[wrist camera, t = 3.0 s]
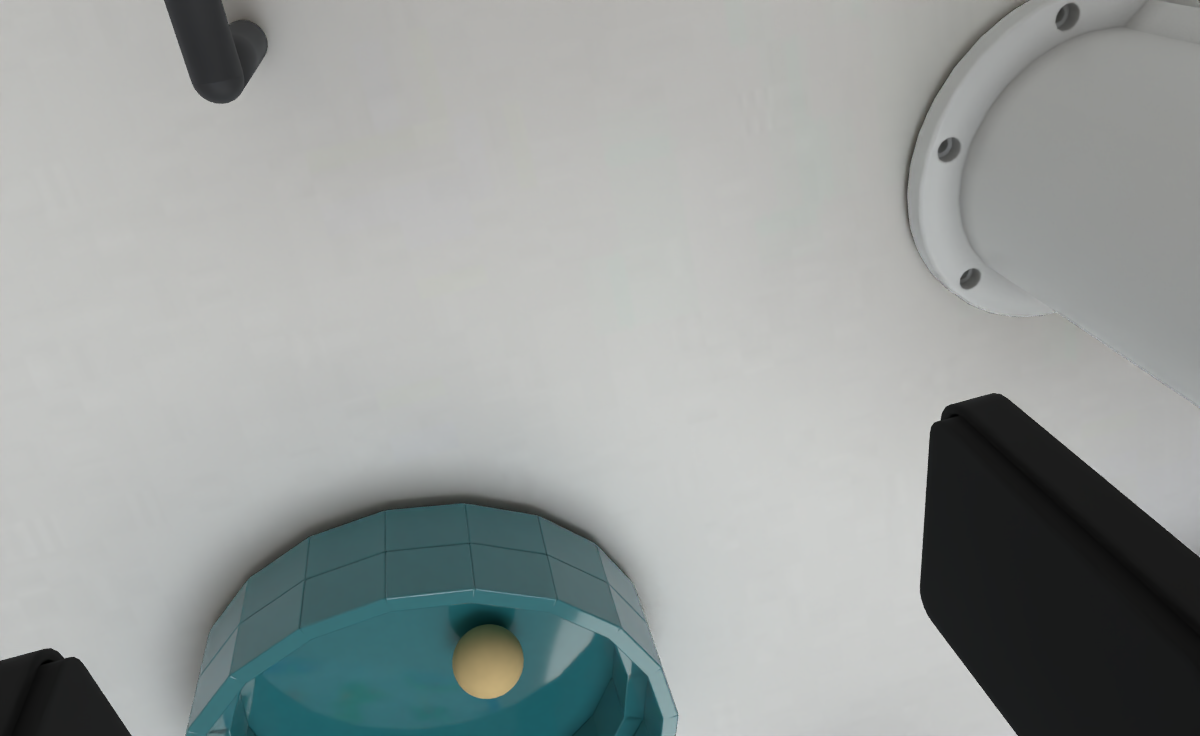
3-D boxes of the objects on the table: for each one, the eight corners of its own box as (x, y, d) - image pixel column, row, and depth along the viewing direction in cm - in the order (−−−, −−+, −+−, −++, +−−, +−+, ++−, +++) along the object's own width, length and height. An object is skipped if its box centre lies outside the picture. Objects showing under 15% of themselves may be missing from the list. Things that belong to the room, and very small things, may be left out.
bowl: (361, 418, 33) (356, 510, 28) (725, 599, 42) (768, 692, 37) (119, 744, 38) (81, 866, 34) (487, 844, 47) (498, 952, 42)
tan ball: (476, 600, 38) (482, 653, 35) (532, 623, 39) (542, 676, 36) (436, 646, 38) (440, 701, 36) (492, 667, 40) (500, 722, 37)
